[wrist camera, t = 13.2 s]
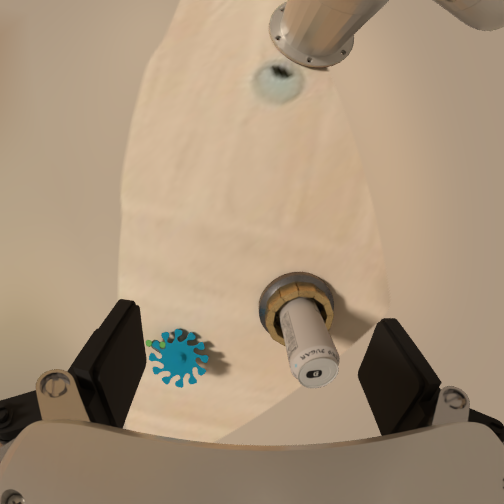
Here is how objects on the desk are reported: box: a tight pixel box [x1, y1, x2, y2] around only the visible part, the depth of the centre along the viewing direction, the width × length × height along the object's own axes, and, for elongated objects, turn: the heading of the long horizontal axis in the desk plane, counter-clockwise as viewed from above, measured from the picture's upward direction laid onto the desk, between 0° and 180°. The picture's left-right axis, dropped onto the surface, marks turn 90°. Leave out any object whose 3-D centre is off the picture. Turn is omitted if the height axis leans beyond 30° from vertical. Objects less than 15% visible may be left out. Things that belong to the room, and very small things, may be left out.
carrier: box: [259, 272, 334, 346], centre depth 44 cm, size 12×12×4 cm
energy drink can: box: [279, 297, 339, 388], centre depth 37 cm, size 6×6×15 cm
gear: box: [146, 329, 208, 388], centre depth 46 cm, size 11×6×10 cm
